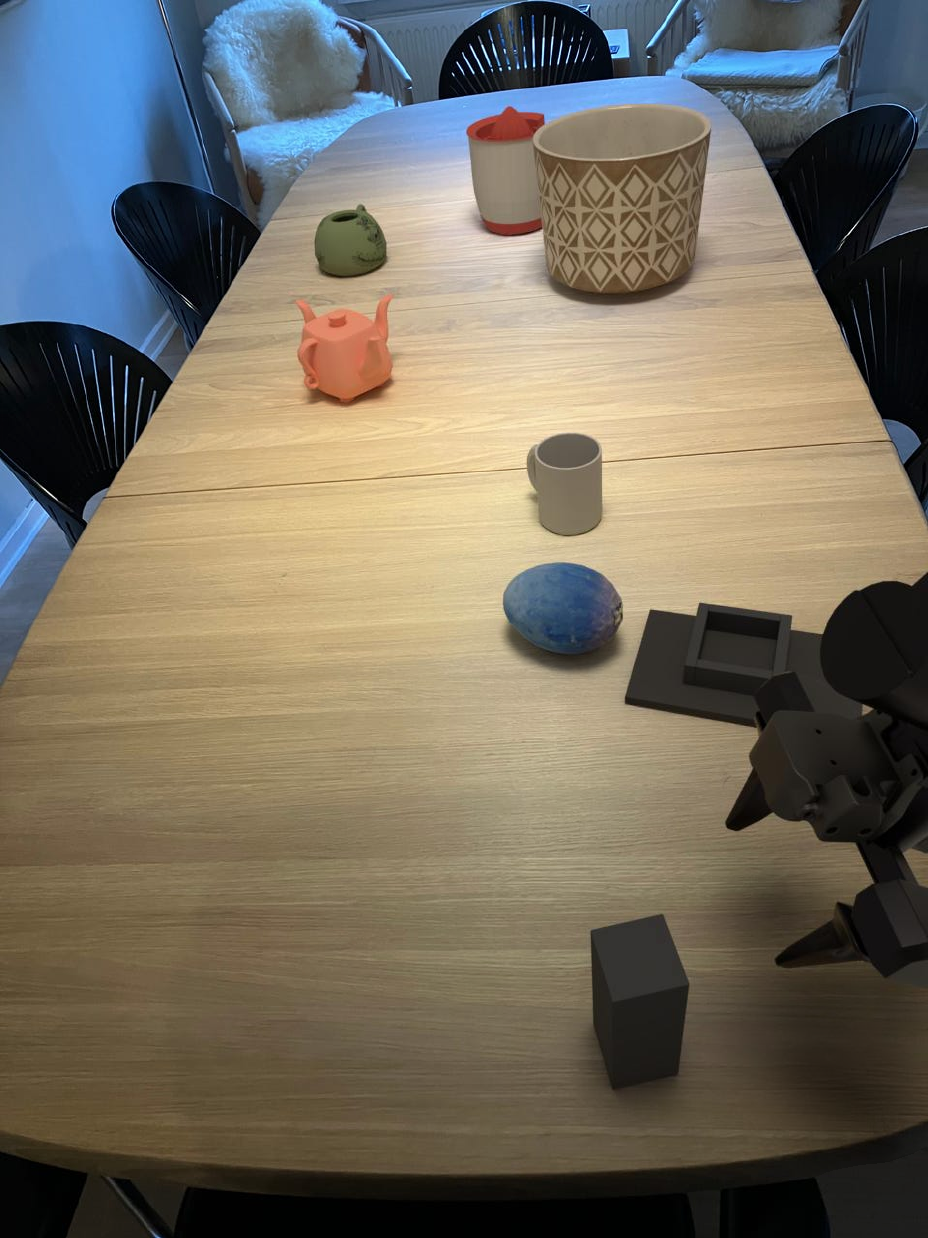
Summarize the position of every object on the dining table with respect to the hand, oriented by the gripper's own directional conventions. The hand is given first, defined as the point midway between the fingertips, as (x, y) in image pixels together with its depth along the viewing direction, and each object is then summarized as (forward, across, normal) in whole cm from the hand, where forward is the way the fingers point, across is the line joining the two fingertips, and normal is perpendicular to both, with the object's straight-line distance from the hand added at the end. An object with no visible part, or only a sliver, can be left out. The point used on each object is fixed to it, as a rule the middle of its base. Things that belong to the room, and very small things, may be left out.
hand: (753, 892), depth 56 cm
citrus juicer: (+7, -147, +13) cm, 148 cm away
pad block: (+15, +3, +2) cm, 15 cm away
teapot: (+26, -95, -12) cm, 100 cm away
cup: (+12, -57, +6) cm, 59 cm away
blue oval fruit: (+13, -36, +5) cm, 39 cm away
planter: (0, -118, +22) cm, 120 cm away
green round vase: (+26, -140, -12) cm, 143 cm away
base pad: (+4, -28, +16) cm, 33 cm away
